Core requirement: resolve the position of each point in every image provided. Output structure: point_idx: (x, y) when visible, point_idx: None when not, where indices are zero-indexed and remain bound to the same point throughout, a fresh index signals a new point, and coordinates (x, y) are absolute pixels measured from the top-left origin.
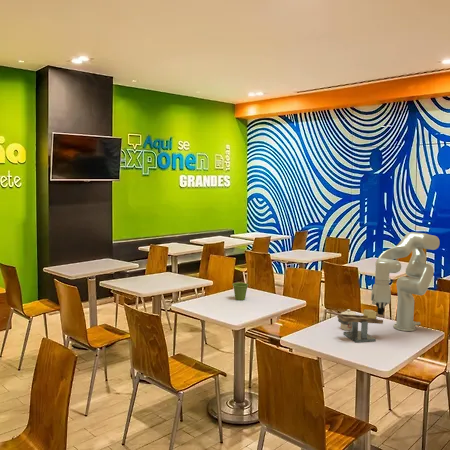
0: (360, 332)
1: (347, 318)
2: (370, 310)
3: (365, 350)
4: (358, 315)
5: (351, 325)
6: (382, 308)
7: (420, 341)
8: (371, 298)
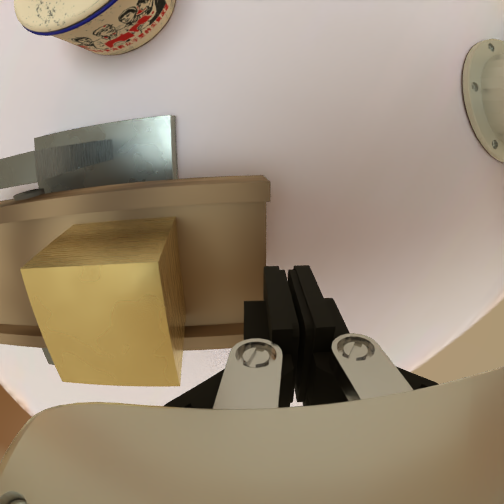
0: (133, 159)
1: None
2: (108, 313)
3: (97, 385)
4: (20, 214)
5: (104, 46)
6: (304, 400)
7: (438, 322)
8: (16, 483)
